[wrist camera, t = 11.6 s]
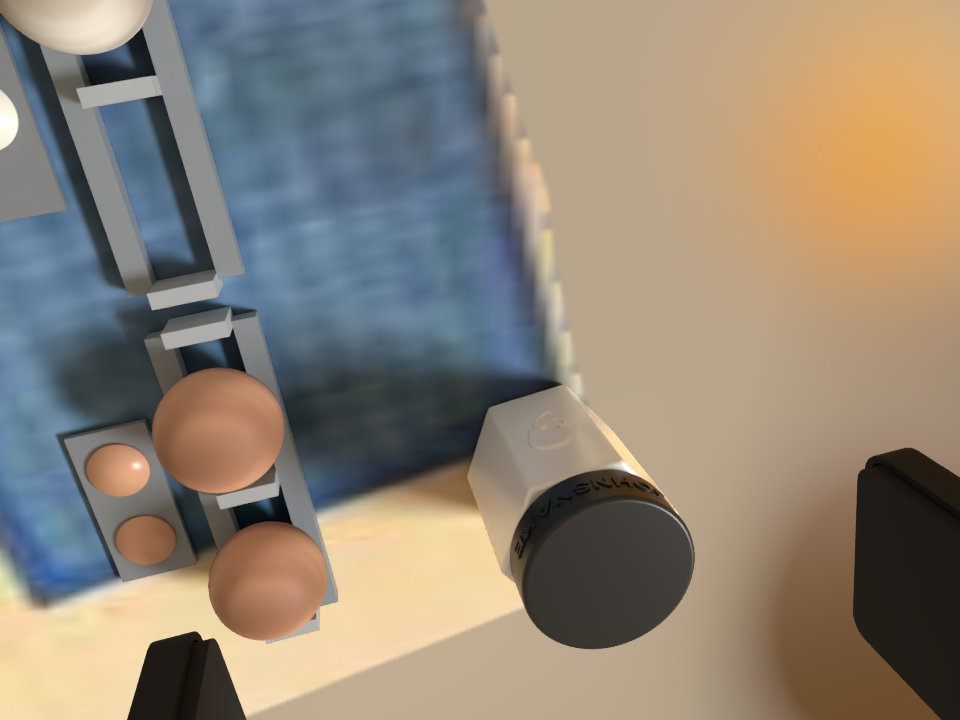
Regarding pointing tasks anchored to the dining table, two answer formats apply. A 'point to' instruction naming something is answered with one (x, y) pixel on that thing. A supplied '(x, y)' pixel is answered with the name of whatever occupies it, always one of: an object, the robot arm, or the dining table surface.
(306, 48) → the dining table surface
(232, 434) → the terracotta ball
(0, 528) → the dining table surface
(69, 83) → the grey ball rail
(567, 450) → the jar
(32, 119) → the tiles
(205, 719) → the robot arm
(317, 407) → the dining table surface
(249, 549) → the terracotta ball
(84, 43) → the cream ball
